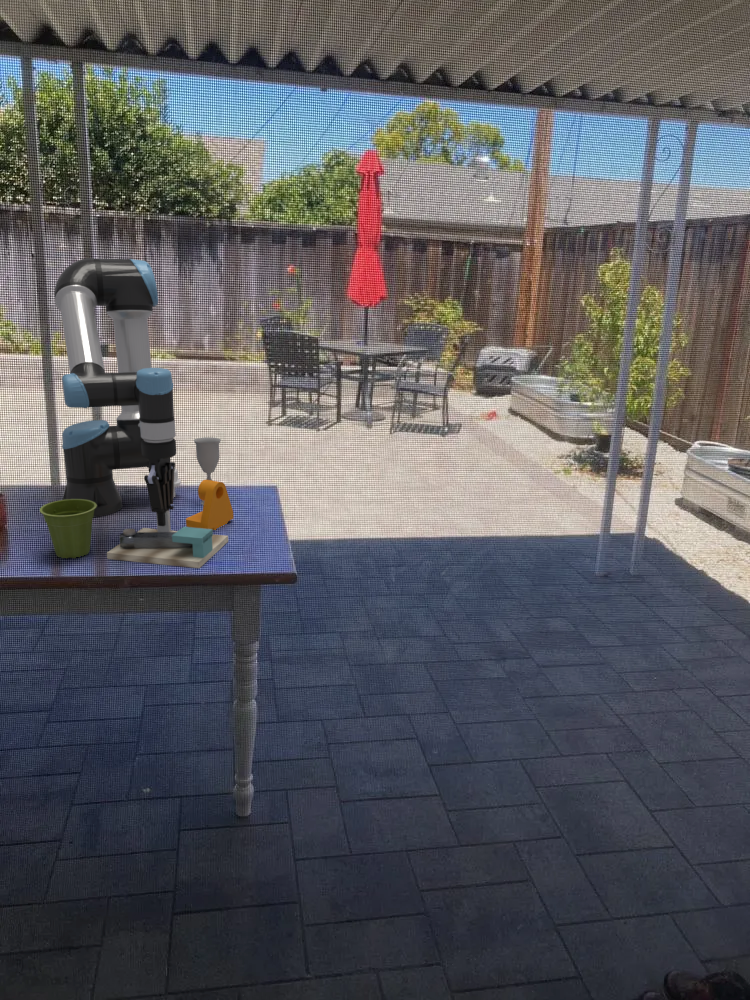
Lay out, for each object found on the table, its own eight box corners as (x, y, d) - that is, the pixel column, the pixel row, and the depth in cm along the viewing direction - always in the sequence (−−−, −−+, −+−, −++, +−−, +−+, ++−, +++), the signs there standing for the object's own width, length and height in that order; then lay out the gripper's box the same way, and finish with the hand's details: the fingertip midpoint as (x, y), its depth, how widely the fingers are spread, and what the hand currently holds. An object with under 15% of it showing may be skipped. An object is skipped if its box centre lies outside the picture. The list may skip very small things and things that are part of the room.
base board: (107, 558, 167) (105, 536, 165) (143, 533, 183) (142, 513, 181) (199, 568, 163) (198, 545, 161) (228, 541, 179) (227, 520, 177)
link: (118, 548, 168) (117, 538, 167) (122, 541, 172) (121, 531, 171) (198, 548, 170) (198, 537, 169) (201, 541, 174) (200, 531, 173)
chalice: (192, 505, 204) (189, 441, 199) (203, 498, 211) (200, 436, 205) (217, 507, 203) (214, 443, 197) (227, 500, 209) (225, 438, 204)
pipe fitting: (186, 497, 211) (185, 470, 209) (163, 502, 206) (161, 474, 204) (175, 492, 215) (174, 465, 213) (152, 496, 211) (151, 469, 208)
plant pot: (34, 561, 164) (28, 512, 161) (64, 542, 176) (59, 497, 172) (83, 565, 163) (78, 517, 159) (110, 546, 174) (106, 500, 170)
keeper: (173, 555, 165) (172, 535, 164) (184, 546, 171) (183, 526, 170) (202, 558, 164) (201, 538, 163) (213, 549, 170) (212, 529, 168)
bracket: (210, 517, 196) (208, 473, 192) (233, 521, 193) (232, 477, 189) (184, 529, 187) (182, 483, 183) (208, 534, 184) (205, 487, 180)
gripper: (153, 431, 172) (159, 526, 180) (130, 444, 160) (137, 546, 167) (184, 433, 172) (189, 528, 179) (163, 446, 159) (170, 548, 167)
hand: (164, 537), depth 173 cm, fingers closed
